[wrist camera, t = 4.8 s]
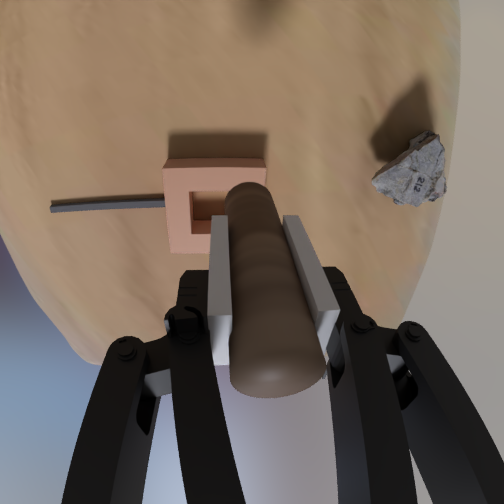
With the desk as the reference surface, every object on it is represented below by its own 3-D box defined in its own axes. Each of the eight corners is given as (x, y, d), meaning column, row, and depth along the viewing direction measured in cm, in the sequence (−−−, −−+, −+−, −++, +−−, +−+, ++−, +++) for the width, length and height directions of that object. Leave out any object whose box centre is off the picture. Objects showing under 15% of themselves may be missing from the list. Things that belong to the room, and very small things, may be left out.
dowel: (224, 181, 17) (229, 350, 8) (274, 182, 18) (336, 343, 8) (224, 225, 19) (230, 400, 9) (270, 225, 19) (314, 393, 10)
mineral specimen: (394, 162, 36) (378, 105, 29) (449, 167, 31) (444, 107, 24) (382, 219, 34) (364, 163, 26) (444, 228, 29) (444, 169, 21)
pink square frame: (167, 159, 29) (162, 168, 27) (262, 158, 30) (266, 168, 28) (174, 238, 35) (170, 253, 33) (257, 238, 36) (259, 252, 34)
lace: (51, 204, 30) (49, 207, 30) (170, 198, 32) (169, 200, 31) (53, 210, 31) (51, 212, 30) (171, 204, 32) (170, 207, 32)
